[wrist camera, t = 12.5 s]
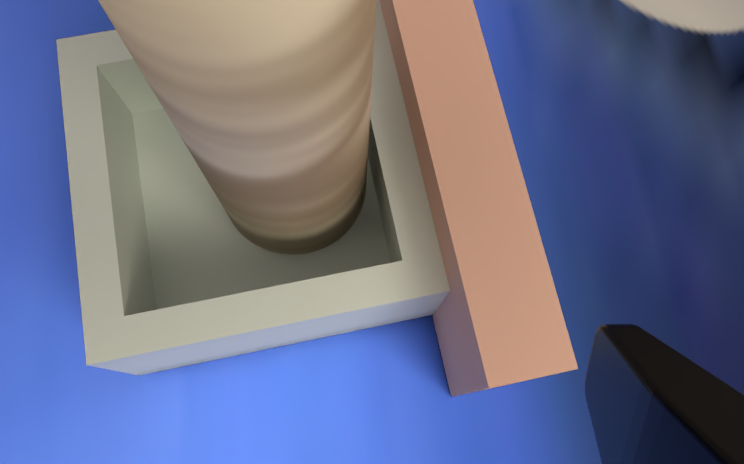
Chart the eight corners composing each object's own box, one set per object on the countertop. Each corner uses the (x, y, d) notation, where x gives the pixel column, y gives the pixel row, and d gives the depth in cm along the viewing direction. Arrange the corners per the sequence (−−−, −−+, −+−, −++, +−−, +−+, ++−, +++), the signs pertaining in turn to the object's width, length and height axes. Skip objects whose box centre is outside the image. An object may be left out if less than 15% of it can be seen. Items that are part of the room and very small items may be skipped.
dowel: (330, 277, 20) (289, 27, 7) (197, 219, 20) (-61, -114, 8) (388, 151, 21) (441, -253, 8) (261, 99, 21) (130, -364, 9)
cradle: (432, 314, 20) (450, 290, 17) (139, 375, 20) (86, 365, 16) (373, 58, 23) (376, -15, 19) (108, 105, 22) (56, 39, 18)
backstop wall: (515, 383, 20) (577, 368, 14) (451, 396, 20) (489, 387, 14) (413, -9, 24) (431, -147, 18) (358, 0, 24) (358, -135, 18)
